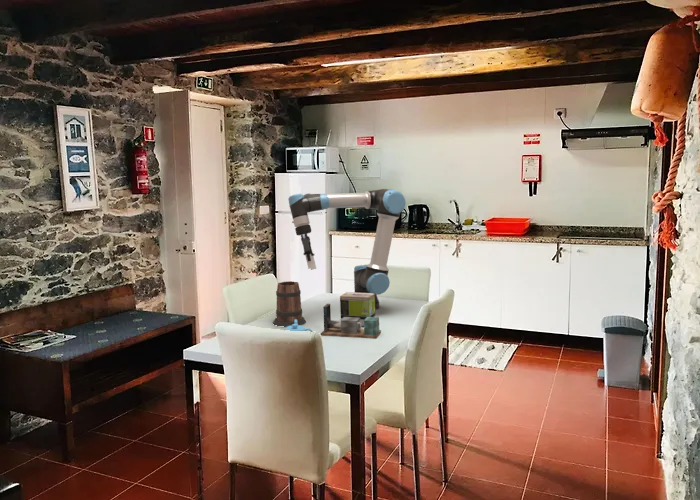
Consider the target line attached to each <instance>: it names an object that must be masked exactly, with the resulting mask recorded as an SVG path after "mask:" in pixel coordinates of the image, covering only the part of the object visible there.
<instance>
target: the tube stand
mask: <svg viewBox="0 0 700 500" xmlns="http://www.w3.org/2000/svg"><path fill="white" fill-rule="evenodd" d="M340 321H341V329H336V328H329V329H328V330H324V329H323V330H322V332H320V336H322V337H323V336H327V337H340V338H341V337H342V338H361V339H378V337H379V336H380V335H381V333H382V330H381V329H380V317H378V316H375V317H367V318H366V319H365V320H364V326H363V328H361V330H357V322H360V318H356V317H344V318H343V319H342V320H341V319H340Z"/></svg>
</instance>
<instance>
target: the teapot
mask: <svg viewBox="0 0 700 500" xmlns="http://www.w3.org/2000/svg"><path fill="white" fill-rule="evenodd" d="M285 330H290V331H310V333H311V332H313V329H311V328H309V327H305V326H304V325H298V323H297V319H295V320H294V324H292V326H287V327H285V329H284V331H285ZM313 333H314V332H313Z"/></svg>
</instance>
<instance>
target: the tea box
mask: <svg viewBox="0 0 700 500" xmlns="http://www.w3.org/2000/svg"><path fill="white" fill-rule="evenodd" d="M339 305H340V307H339V308H340V309H339V310H340V311H339V313H340V321H341V320H342V319H343V318H344V317H356V318H360V322H361V327H364V320H365V319H366V318H367V317H376V309H375V293H356V292H355V291H353V292H350V291H345V293H342V295H340V296H339Z"/></svg>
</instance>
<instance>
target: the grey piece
mask: <svg viewBox="0 0 700 500" xmlns="http://www.w3.org/2000/svg"><path fill="white" fill-rule="evenodd" d="M322 308H323V311H322V312H323V331H324V330H328V329H329V328H336V329H341V320H332V317H331V316H332V315H331V313H332V312H331V303H325V305H324V306H323V307H322ZM361 329H362V326H361V322H357V330H361Z"/></svg>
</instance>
